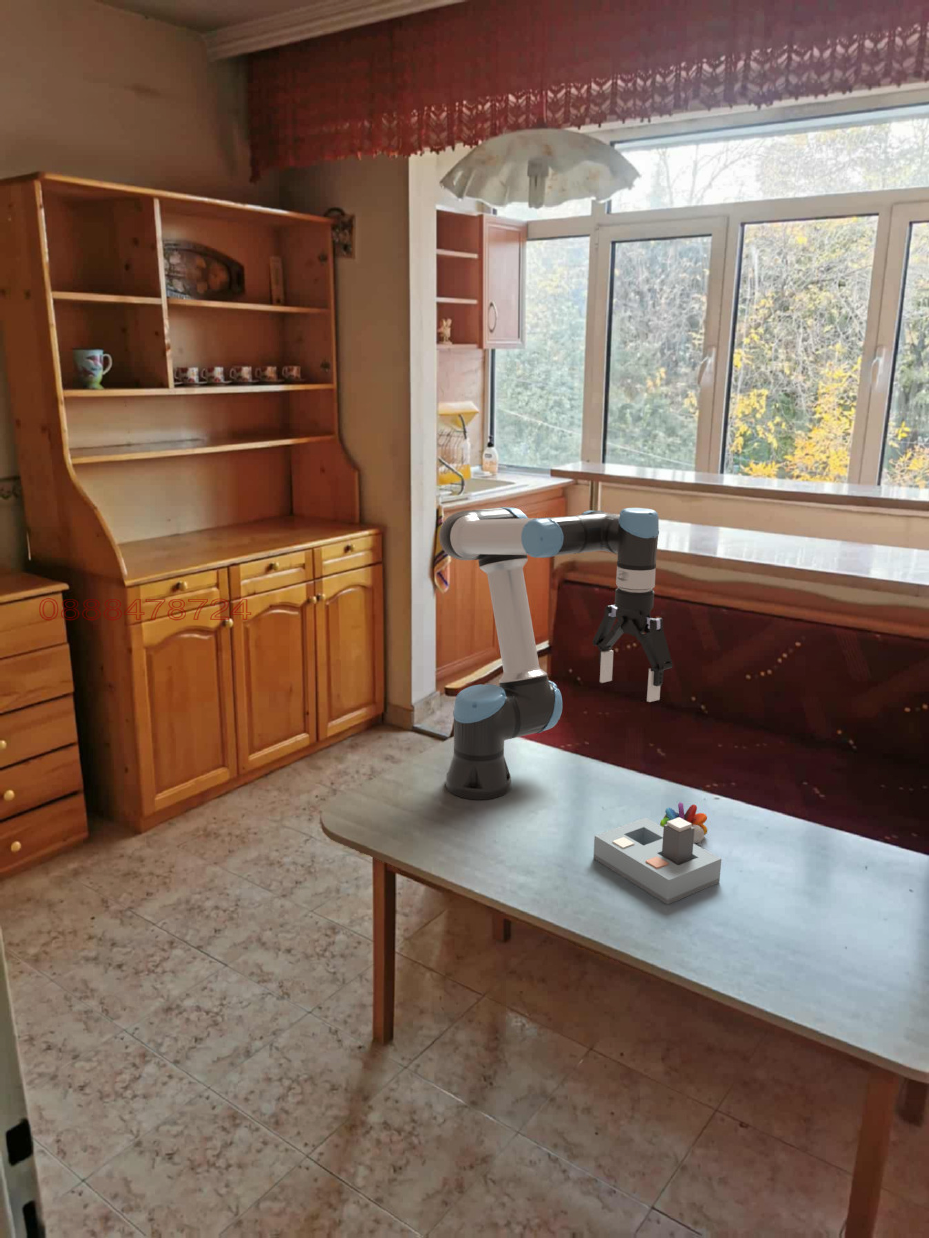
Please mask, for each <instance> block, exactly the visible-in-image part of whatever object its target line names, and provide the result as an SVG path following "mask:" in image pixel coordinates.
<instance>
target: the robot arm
mask: <svg viewBox="0 0 929 1238" xmlns="http://www.w3.org/2000/svg"><path fill="white" fill-rule="evenodd" d="M659 524H660V523H659V514H658V512H657V511H656V510H654V509H651V508H643V507H627V508H622V509H621V511H620V512H619V515H618V514H614V513H609V512H605V511H604V510H603V511H602V510H586V511H584V512H583V513H581V514H578V515H569V516H567V515H566V516H555V517H528V516H527V515H526V514H525V512H523V511H522V510H521V509H519V508H516V507H503V506H501V507H492V508H483V509H470V510H469V509H468V510H462V511H458V512H455V513H453V514H452V515H449V516H448V517H447V518H446V519H445V520H444V522H443V523H442V524H441V526H440V529H439V535H438V539H439V543H440V546H441V549H442V550H443V551H444V552H445V554H446V555H448V556H449V557H451V558H453V559H455V560H458V561H478V566H479V569H480V570H481V571H483V573H485V574H486V576H487V581H488V588H489V593H490V594H489V595H490V598H491V605H492V612H493V616H494V623H495V628H496V636H497V640H498V647H499V651H500V652H499V654H500V658H501V665H502V670H503V674H502V676H501V677H500V678H499V680H498V684H499V685H497V684H494V683H493V684H492V683H487V684H482V683H480V684H475V685H471V686H468V687H466V688H464V689H462V690H460V691H459V692H458V693H457V695H456V697H455V698H454V705H453V713H452V715H453V756H452V757H451V762H450V765H449V768H448V771H447V773H446V775H445V788H446V789H447V791H448V792H450V793H451V794H452V795H455V796H457V797H460V798H463V799H469V800H470V799H471V800H491V799H495V798H499V797H502V796H504V795H505V794H507V793H508V792H509V791H510V790H511V788H512V787H511V786H512V785H511V783H512V778H511V773H510V771H509V767H508V764H507V762H506V758H505V741H508V740H511V739H515V738H516V739H517V738H520V737H523V736H528V735H533V734H539V733H542V732H544V731H547V730H550V729H552V728H554V727H555V726H556V725H557V724H558V722H559V720H560V719H561V715H562V712H563V697H562V693H561V691H560V689H559V688H558V685H557V684H556V683H555V682H554V681H551V680H549V677H548V673H547V672H546V671H544V670H543V669H541V667H540V664H539V663H540V662H539V657H538V652H537V650H538V649H537V645H536V639H535V633H534V628H533V621H532V616H531V609H530V605H529V598H528V592H527V586H526V585H527V584H526V581H525V575H524V566H526V564H527V562H528V560H529V559H528V556H529V557H531V558H534V559H535V558H536V559H537V558H540V559H541V558H543V559H544V558H552V557H558V556H565V555H571V554H573V555H574V554H581V553H583V554H584V553H591V552H600V551H601V552H603V551H604V552H607V553H612V554H616V555H617V559H616V577H615V584H616V586H617V587H616V589H615V593H614V604H611V605H606V606H605V607H604V614H603V615H604V616H603V618H602V620H601V621H600V624H599V626H598V628H597V631H596V632H595V635H594V637H593V639H592V641H591V642H592V645H593V646H596V647H597V648H598V650H599V655H598V656H599V660H598V663H599V666H600V669H599V671H600V672H599V674H600V675H599V683H601V684H603V683H607V682H611V681H613V669H614V668H613V667H614V650H612V649H613V646H614V645H615V644H616V642H617V641H618V640H619V639H620V638H621V636H622V635H623V634H629V635H631V636H633V637H635V638H636V640H637V641H638V642H640V644H641V647H642V649H643V651H644V653H645V655H646V658H647V659H648V662H649V664H650V667H651V668H648V679H647V692H646V693H647V694H646V702H648V703H651V702H655V701H660V699H661V698H660V697H661V687H662V686H663V683H664V673H665V672H664V671H665V670H668V669H672V668H673V667H674V664H673V660H672V658H671V657H672V656H671V654H670V650H669V649H670V648H669V646H668V643H667V639H666V635H665V632H664V619H663V618H662V617H658V618H653V617H652V616H651V612H652V609H653V608H654V602H655V591H654V590H653V589H654V588H655V587H656V569H657V568H656V567H657V555H658V542H659V534H660V528H659ZM616 619H617V621H616Z"/></svg>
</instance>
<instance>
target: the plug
mask: <svg viewBox="0 0 929 1238" xmlns="http://www.w3.org/2000/svg"><path fill="white" fill-rule="evenodd" d="M694 829H695V828H694V827H692V824H691V823H689V822H687V821H686V820H684V819H682V818H680V817H678V818H675V819H673V820H670V821H667V824H665V825H664V830H663V844H662V856H663V857H664V858H666V859H668V860H670V861H671V862H673V863H675V864H676V865H681V864H683V863H686V862H688V861H691V860H692V854H693V844H694V843H693V841H694Z"/></svg>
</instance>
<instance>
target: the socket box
mask: <svg viewBox="0 0 929 1238" xmlns="http://www.w3.org/2000/svg"><path fill="white" fill-rule="evenodd" d="M663 830H664V827H662V826H660V824H658V823H656V822H655V821H653V820H650V819H649V818H647V817H644V818H640V819H638V820H634V821H631V822H629V823H626V824H623V825H620V826H619V827H614V828H612V829H609V830H607V831H604V832H600V833H599V834H595V835H594V840H593V841H594V842H593V859H594V860H595V861H598V862H599V863H601V864H602V865H604V866H605V867H606V868H609V869H610V870H612V871H613V872H615V873H616V874H618V875H619V876H621V877H622V878H624V879H626V880H627V881H628V882H630V883H632V884H633V885H635V886H637V887H638V888H640V889H642V890H643V891H645V892H647V893H648V894H650V895H651V896H653V897H655V899H658V900H659V901H661V902H662V903H664V904H665V905H670V904H672V903H674V902H677V901H679V900H681V899H684V898H686V897H688V896H691V895H693V894H696V893H697V892H700V891H702V890H704V889H707V888H709V887H711V886H715V885H717V884H719V883H720V880H721V879H720V878H721V867H722V857H719V856H717V855H715V854H714V853H712V852H710V851H709V850H706V849H704V848H703V847H700V846H698V845H697V844H696V843H693V854H692V860H691V861H688V862H686V863H683V864H681V865H676V864H675V863H673V862H671V861H670V860H668V859H666V858H664V857H663V856H662V844H663Z"/></svg>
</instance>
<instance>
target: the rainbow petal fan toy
mask: <svg viewBox="0 0 929 1238" xmlns="http://www.w3.org/2000/svg"><path fill="white" fill-rule="evenodd" d="M677 806H678V812H677V811H675V809H673V808H672V807H667V808H666V809H665V814H664V816H663V818H662V819H661V820H660V822H659V825H660V826H662V827H664V825H665V824H667V821H670V820H673V819H675V818H678V817H680V818H682V819H684V820H686V821H687V822H689V823H691V824H692V827H694V828H695V829H694V841H693V844H698V843H701V842H702V841H703V839H704V837H705V835H706V834H707V833H708V828H707V826H706V825H705V822H706V821H707V820H708V816H707V814H705V813H703V812H699V813H697V810H698V806H697V805H696V804H691V805H690V806H689V807H688V809H687V810H686V811H685V809H684V808H685V807H684V803H683V802H679V803H678V805H677Z"/></svg>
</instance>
